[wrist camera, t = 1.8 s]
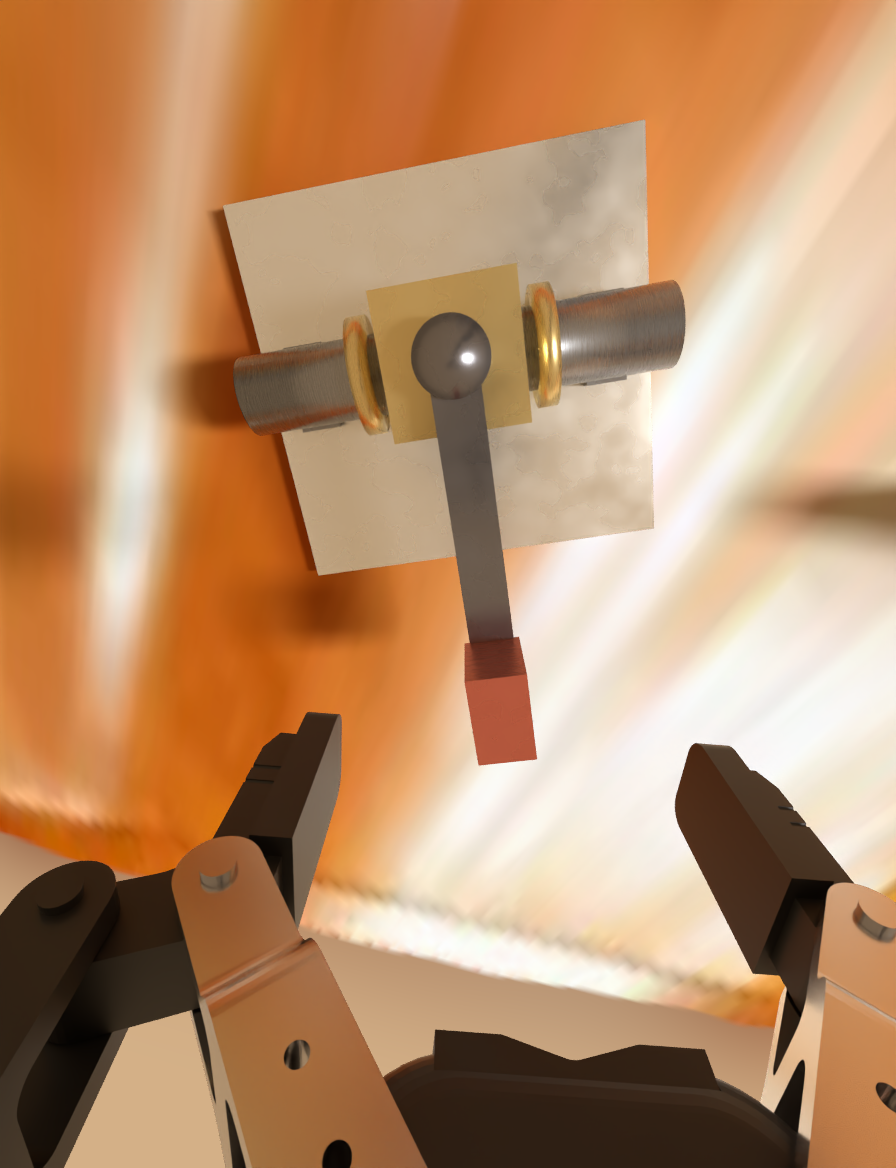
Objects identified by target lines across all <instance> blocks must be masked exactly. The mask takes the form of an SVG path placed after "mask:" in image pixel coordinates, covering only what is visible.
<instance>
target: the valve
mask: <svg viewBox="0 0 896 1168" xmlns="http://www.w3.org/2000/svg"><path fill="white" fill-rule="evenodd" d="M223 208H224V212H225V216H226V220H227V224H228V228H229V231H230V235H231V239H232V243H233V247H234V251H235V255H236V259H237V262H238V266H239V270H240V274H241V278H242V282H243V286H244V290H245V293H246V297H247V301H248V305H249V309H250V313H251V317H252V321H253V324H254V328H255V332H256V336H257V340H258V344H259V348H260V352H261V353H260V354H254V355H249V356H243V357H239V358H237V359H236V361H235V364H234V369H233V378H234V386H235V392H236V396H237V399H238V403H239V406H240V408H241V411H242V413H243V416H244V418H245V420H246V421H247V423H248V425H249V426H250V428H251V429H252V430H253V431H254V432H255V433H256V434H258V435H260V436H263V435H269V434H275V433H282V437H283V441H284V444H285V448H286V452H287V456H288V460H289V464H290V468H291V472H292V475H293V479H294V483H295V487H296V491H297V495H298V499H299V503H300V506H301V510H302V514H303V518H304V522H305V526H306V530H307V534H308V537H309V541H310V545H311V549H312V553H313V557H314V561H315V565H316V568H317V572H318V576H319V575H326V574H333V573H340V572H347V571H354V570H361V569H369V568H376V567H383V566H390V565H397V564H404V563H411V562H418V561H425V560H433V559H440V558H447V557H454V556H456V552H455V546H454V540H453V533H452V527H451V521H450V514H449V508H448V502H447V496H446V489H445V483H444V477H443V470H442V464H441V458H440V451H439V445H438V439H437V433H436V426H435V420H434V414H433V407H432V401H431V395H430V393H429V392H427V391H426V390H425V389H424V388H423V387H422V386H421V384H420V383H419V382H418V380H417V378H416V376H415V374H414V371H413V368H412V364H411V349H412V344H413V341H414V338H415V336H416V334H417V332H418V330H419V329H420V328H421V326H422V325H423V324H424V323H425V322H427V321H428V320H429V319H430V318H432V317H434V316H436V315H438V314H442V313H447V312H456V313H461V314H464V315H467V316H469V317H471V318H472V319H473V320H475V321H476V322H477V323H478V324H479V325H480V326H481V327H482V328H483V330H484V331H485V333H486V335H487V337H488V339H489V343H490V347H491V365H490V369H489V372H488V375H487V377H486V379H485V380H484V382H483V383H482V392H483V400H484V408H485V416H486V424H487V432H488V440H489V448H490V456H491V464H492V472H493V480H494V487H495V495H496V503H497V511H498V519H499V527H500V535H501V543H502V550H504V549H511V548H518V547H525V546H532V545H539V544H546V543H553V542H561V541H568V540H575V539H582V538H589V537H596V536H603V535H610V534H618V533H625V532H632V531H639V530H646V529H653V528H654V512H653V464H652V417H651V371H657V370H663V369H669V368H673V367H674V366H675V365H676V364H677V362H678V360H679V358H680V355H681V352H682V348H683V343H684V336H685V307H684V300H683V296H682V292H681V289H680V287H679V285H678V284H677V283H676V282H675V281H674V280H669V281H664V282H658V283H652V284H649V276H648V229H647V181H646V134H645V120H641V121H636V122H631V123H626V124H621V125H616V126H611V127H607V128H602V129H597V130H592V131H587V132H582V133H577V134H572V135H567V136H562V137H557V138H553V139H548V140H543V141H538V142H533V143H528V144H523V145H518V146H513V147H508V148H504V149H499V150H494V151H489V152H484V153H479V154H474V155H469V156H464V157H459V158H454V159H450V160H445V161H440V162H435V163H430V164H425V165H420V166H415V167H410V168H405V169H401V170H396V171H391V172H386V173H381V174H376V175H371V176H366V177H361V178H356V179H352V180H347V181H342V182H337V183H332V184H327V185H322V186H317V187H312V188H307V189H302V190H298V191H293V192H288V193H283V194H278V195H273V196H268V197H263V198H258V199H253V200H249V201H244V202H239V203H234V204H229V205H224V206H223Z"/></svg>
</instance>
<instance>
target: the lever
mask: <svg viewBox="0 0 896 1168" xmlns="http://www.w3.org/2000/svg"><path fill="white" fill-rule="evenodd" d="M411 364H412V368H413V371H414V374H415V376H416V378H417V380H418V382H419V383H420V384H421V386H422V387H423V388H424V389H425V390H426V391H427V392H429V393H430V395H431V401H432V407H433V414H434V420H435V426H436V433H437V439H438V445H439V451H440V458H441V464H442V470H443V477H444V483H445V489H446V496H447V502H448V508H449V514H450V521H451V527H452V533H453V540H454V546H455V552H456V558H457V565H458V571H459V577H460V584H461V590H462V596H463V602H464V609H465V615H466V621H467V628H468V634H469V640H470V643H466V644H465V687H466V693H467V699H468V705H469V711H470V717H471V723H472V729H473V735H474V741H475V747H476V753H477V759H478V765H488V764H497V763H507V762H516V761H525V760H535V759H537V755H536V747H535V739H534V730H533V722H532V714H531V705H530V697H529V689H528V680H527V673H526V668H525V664H524V659H523V654H522V649H521V645H520V640H519V637H514V638H513V630H512V622H511V614H510V606H509V598H508V590H507V582H506V575H505V567H504V559H503V551H502V543H501V535H500V527H499V519H498V511H497V503H496V495H495V487H494V480H493V472H492V464H491V456H490V448H489V440H488V432H487V424H486V416H485V408H484V400H483V392H482V383H483V382H484V380H485V379H486V377H487V375H488V372H489V369H490V365H491V347H490V343H489V339H488V337H487V335H486V333H485V331H484V330H483V328H482V327H481V326H480V325H479V324H478V323H477V322H476V321H475V320H473V319H472V318H471V317H469V316H467V315H464V314H461V313H456V312H447V313H442V314H438V315H436V316H434V317H432V318H430V319H429V320H428V321H427V322H425V323H424V324H423V325H422V326H421V328H420V329H419V330H418V332H417V334H416V336H415V338H414V341H413V344H412V349H411Z"/></svg>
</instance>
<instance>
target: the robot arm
mask: <svg viewBox="0 0 896 1168" xmlns="http://www.w3.org/2000/svg"><path fill="white" fill-rule="evenodd" d="M341 735H342V720H341V715H340V714H328V713H315V712H307V713H306V715H305V717H304V719H303V721H302V723H301V726H300V728H299V730H298V732H297V734H290V733H280V734H279V735H277V736H276V737H275V738H274V739H272V740H271V741H270V742H269V743H267V744H266V745H265V746H264V747H263V748H262V750H261V752H260V754H259V755H258V757H257V759H256V761H255V763H254V766H253V768H251V770H250V772H249V774H248V775H247V777H246V781H245V782H244V783H243V785H242V786H241V788H240V790H239V792H238V794H237V795H236V797H235V799H234V801H233V803H232V805H231V806H230V808H229V810H228V812H227V814H226V815H225V817H224V819H223V821H222V823H221V825H220V826H219V828H218V830H217V832H216V834H215V835H214V837H213V839H211V840H208V841H206V842H204V843H202V844H200V845H198V846H197V847H195V848H194V849H192V850H191V851H190V852H188V853H187V854H186V855H185V856H184V857H183V858H182V860H181V861H180V862H179V863H178V865H177V867H176V868H175V869H172V870H169V871H166V872H162V873H158V874H154V875H149V876H143V877H138V878H133V879H128V880H123V881H118V882H116V879H115V875H114V873H113V871H112V869H111V868H110V867H109V866H107V865H105V864H103V863H100V862H97V861H79V862H73V863H69V864H66V865H62V866H60V867H57V868H55V869H52V870H50V871H48V872H46V873H44V874H43V875H41V876H39V877H38V878H36V879H35V880H33V881H32V882H31V883H29V884H28V885H27V886H26V887H25V888H24V889H22V890H21V891H20V893H18V894H17V896H16V897H15V898H14V899H13V900H12V901H11V903H10V904H9V905H8V907H7V908H6V909H5V910H4V912H3V913H2V914H1V915H0V1168H64V1166H65V1164H66V1162H67V1160H68V1158H69V1155H70V1153H71V1151H72V1149H73V1147H74V1145H75V1143H76V1140H77V1138H78V1136H79V1134H80V1132H81V1130H82V1127H83V1125H84V1123H85V1121H86V1119H87V1117H88V1114H89V1112H90V1110H91V1108H92V1106H93V1104H94V1101H95V1099H96V1097H97V1094H98V1093H99V1091H100V1088H101V1086H102V1084H103V1082H104V1080H105V1078H106V1075H107V1073H108V1071H109V1069H110V1067H111V1065H112V1062H113V1060H114V1058H115V1056H116V1054H117V1051H118V1050H119V1047H120V1045H121V1043H122V1041H123V1039H124V1037H125V1034H126V1032H127V1030H128V1028H129V1027H132V1026H136V1025H139V1024H143V1023H147V1022H150V1021H153V1020H158V1019H161V1018H165V1017H168V1016H172V1015H175V1014H179V1013H182V1012H186V1011H190V1014H191V1018H192V1022H193V1026H194V1030H195V1035H196V1039H197V1043H198V1047H199V1051H200V1055H201V1059H202V1063H203V1068H204V1071H205V1076H206V1079H207V1084H208V1087H209V1092H210V1096H211V1100H212V1104H213V1108H214V1113H215V1117H216V1122H217V1126H218V1131H219V1136H220V1141H221V1147H222V1152H223V1157H224V1162H225V1167H226V1168H896V903H895V902H894V901H892V900H891V899H889V898H888V897H886V896H884V895H882V894H881V893H879V892H877V891H874V890H872V889H870V888H867V887H864V886H861V885H858V884H854V883H853V881H852V880H851V879H850V878H849V876H848V875H847V874H846V873H845V871H844V870H843V869H842V868H841V866H840V865H839V864H838V863H837V861H836V860H835V859H834V858H833V856H832V855H831V854H830V853H829V851H828V850H827V849H826V848H825V846H824V845H823V844H822V843H821V841H820V840H819V839H818V838H817V836H816V835H815V834H814V833H813V831H812V830H811V829H810V828H809V827H806V823H805V821H804V820H803V819H802V818H801V816H800V815H799V814H798V813H797V811H794V810H793V806H792V805H791V804H790V803H789V801H788V800H787V799H786V798H785V796H784V795H783V794H782V793H781V791H780V790H779V789H778V788H777V787H776V786H775V785H773V784H772V783H771V782H769V781H768V780H767V779H766V778H764V777H763V776H762V775H760V774H759V773H758V772H756V771H751V770H749V768H748V767H747V766H746V764H745V763H744V762H743V760H742V759H741V758H740V756H739V755H738V754H737V753H736V751H735V750H734V749H733V748H732V747H730V746H724V745H711V744H699V743H695V744H693V745H692V746H691V748H690V749H689V752H688V756H687V759H686V763H685V766H684V770H683V773H682V777H681V780H680V784H679V787H678V791H677V794H676V799H675V812H676V818H677V822H678V825H679V827H680V829H681V831H682V833H683V835H684V837H685V839H686V841H687V843H688V845H689V847H690V849H691V851H692V853H693V855H694V857H695V859H696V861H697V863H698V865H699V867H700V869H701V871H702V873H703V875H704V877H705V879H706V881H707V883H708V885H709V887H710V889H711V891H712V893H713V895H714V897H715V899H716V901H717V903H718V905H719V907H720V909H721V911H722V913H723V915H724V917H725V919H726V921H727V923H728V925H729V927H730V929H731V931H732V933H733V935H734V937H735V939H736V941H737V943H738V945H739V947H740V949H741V951H742V953H743V955H744V957H745V959H746V961H747V963H748V965H749V967H750V969H751V971H752V973H753V974H766V975H779V976H780V977H781V979H782V981H783V983H784V985H785V988H784V991H783V993H782V995H781V998H780V1002H779V1008H778V1013H777V1019H776V1024H775V1030H774V1036H773V1041H772V1047H771V1053H770V1058H769V1063H768V1069H767V1074H766V1080H765V1085H764V1090H763V1094H762V1098H761V1102H759V1101H757V1100H756V1099H754V1098H752V1097H751V1096H749V1095H748V1094H746V1093H744V1092H743V1091H741V1090H740V1089H738V1088H736V1087H734V1086H732V1085H730V1084H728V1083H726V1082H724V1081H722V1080H719V1079H717V1078H715V1076H714V1073H713V1070H712V1068H711V1065H710V1062H709V1060H708V1057H707V1054H706V1052H705V1050H704V1049H691V1048H677V1047H664V1046H649V1045H636V1046H632V1047H628V1048H624V1049H621V1050H616V1051H613V1052H609V1053H605V1054H601V1055H598V1056H594V1057H590V1058H586V1059H582V1060H569V1059H566V1058H563V1057H560V1056H558V1055H555V1054H552V1053H550V1052H547V1051H544V1050H541V1049H539V1048H536V1047H533V1046H531V1045H528V1044H526V1043H523V1042H520V1041H518V1040H515V1039H512V1038H509V1037H507V1036H504V1035H501V1034H487V1033H473V1032H460V1031H446V1030H435V1037H434V1046H433V1054H432V1055H428V1056H424V1057H420V1058H417V1059H415V1060H413V1061H410V1062H408V1063H406V1064H403V1065H401V1066H400V1067H398V1068H396V1069H395V1070H393V1071H392V1072H390V1073H388V1074H387V1075H385V1076H384V1077H383V1076H382V1074H381V1072H380V1070H379V1068H378V1066H377V1064H376V1062H375V1060H374V1058H373V1056H372V1054H371V1052H370V1050H369V1048H368V1045H367V1044H366V1041H365V1039H364V1037H363V1035H362V1033H361V1031H360V1029H359V1027H358V1025H357V1023H356V1021H355V1019H354V1017H353V1015H352V1013H351V1011H350V1009H349V1007H348V1005H347V1003H346V1000H345V998H344V996H343V994H342V992H341V990H340V988H339V986H338V984H337V982H336V980H335V978H334V976H333V974H332V972H331V970H330V968H329V966H328V964H327V962H326V959H325V957H324V955H323V953H322V951H321V950H320V948H319V946H318V945H317V943H316V942H315V941H314V940H313V939H312V938H308V939H307V940H304V939H303V938H302V937H301V935H300V933H299V931H298V927H299V924H300V920H301V917H302V914H303V910H304V907H305V904H306V900H307V897H308V894H309V890H310V887H311V884H312V880H313V877H314V874H315V870H316V867H317V864H318V860H319V857H320V854H321V850H322V847H323V844H324V840H325V837H326V833H327V830H328V827H329V823H330V820H331V817H332V813H333V810H334V807H335V803H336V800H337V796H338V792H339V786H340V778H341Z"/></svg>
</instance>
